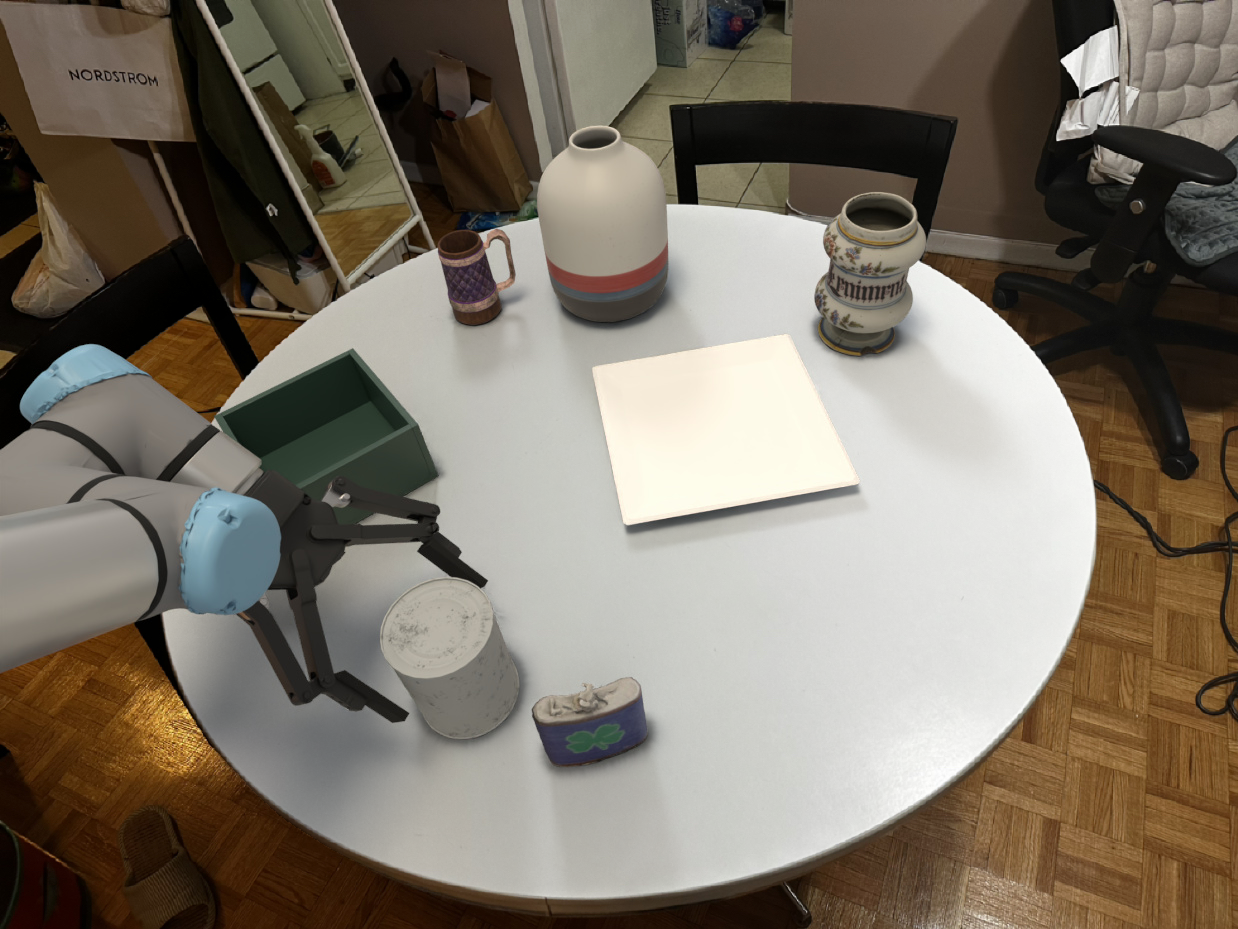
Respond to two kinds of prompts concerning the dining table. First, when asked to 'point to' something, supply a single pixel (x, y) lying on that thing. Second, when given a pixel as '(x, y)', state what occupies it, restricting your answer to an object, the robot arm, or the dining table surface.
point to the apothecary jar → (868, 272)
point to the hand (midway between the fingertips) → (442, 648)
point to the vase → (604, 226)
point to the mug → (472, 275)
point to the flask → (591, 723)
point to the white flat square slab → (717, 429)
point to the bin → (333, 432)
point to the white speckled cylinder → (451, 656)
